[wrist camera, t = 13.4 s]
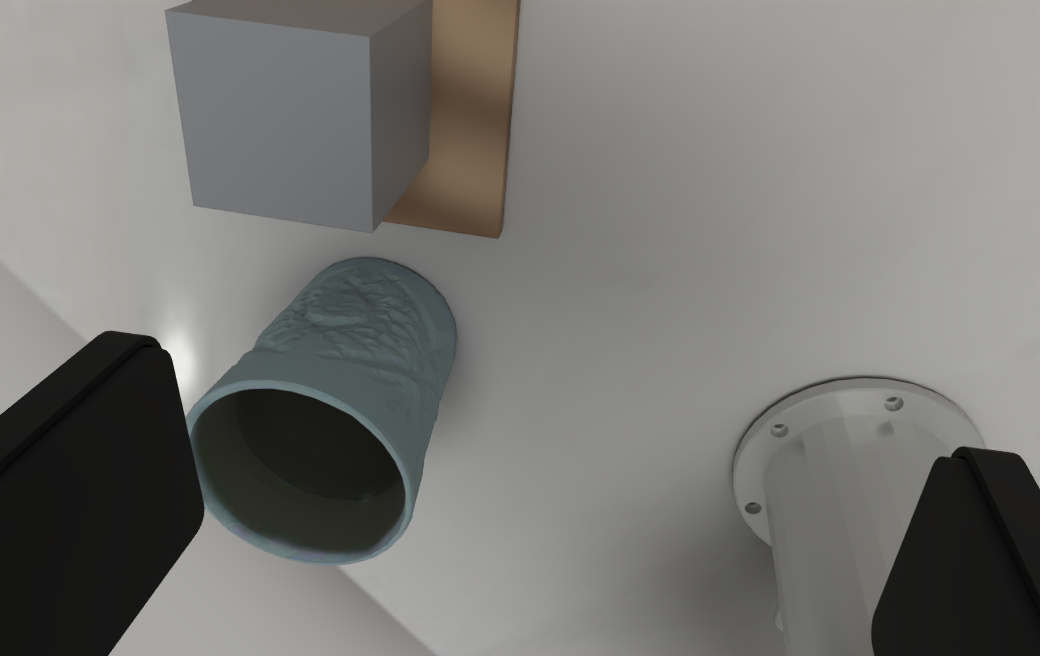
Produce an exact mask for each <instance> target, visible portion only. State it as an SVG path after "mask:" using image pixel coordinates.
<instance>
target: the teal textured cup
mask: <svg viewBox="0 0 1040 656" xmlns="http://www.w3.org/2000/svg"><path fill="white" fill-rule="evenodd" d="M455 346H456V325H455V322H454V320H453V317H452V314H451V312H450V309H449V307H448V306H447V304H446V303H445V298H444V297H443V296H442V295H441V294H440V293H438V292H436V291H435V288H434V286H432V285H431V284H429V283H428V282H427V280H426V279H424V278H422V277H421V276H419V275H418V274H416V273H414V272H412V271H411V270H409V269H407V268H405V267H403V266H400V265H398V264H396V263H395V262H388V261H387V260H383V259H379V258H368V257H364V258H354V259H350V260H346V261H342V262H339V263H337V264H335V265H332V266H330V267H328V268H327V269H325V270H324V271H323V272H321V273H320V274H318V275H317V276H316V277H315V278H314V279H313V280H312V281H311V282H310V283H309V284H308V285H307V286H306V287H305V288H304V290H303V291H302V292H301V293H300V294H299V295H298V296H297V297H296V298H295V299H294V300H293V301H292V303H291V304H290V305H289V306H288V308H287V309H286V310H284V311H283V312H282V313H281V314H280V315H279V316H277V317H276V319H275V320H274V321H273V322H272V324H271V325H269V326H268V327H267V328H266V329H265V330H264V331H263V332H262V333H261V334H260V336H259V337H258V339H257V342H256V344H255V346H254V348H253V350H252V351H250V352H247V353H245V354H244V355H243V356H242V357H241V359H240V360H239V362H238V363H237V364H236V365H234V366H232V367H231V368H230V369H229V370H228V371H227V372H226V373H225V374H224V375H223V376H222V377H221V379H220V380H219V381H218V382H217V383H216V384H215V385H214V386H213V387H212V388H211V389H210V390H209V391H208V392H207V393H206V394H205V395H204V396H203V397H202V398H201V399H200V400H199V401H198V402H197V403H196V404H195V405H194V406H193V407H192V409H191V410H190V412H189V413H188V415H187V417H186V419H185V420H186V424H187V429H188V433H189V437H190V442H191V446H192V451H193V455H194V460H195V464H196V469H197V473H198V478H199V482H200V487H201V491H202V496H203V500H204V507H205V509H206V510H207V511H208V512H209V513H211V514H212V515H213V516H214V517H215V518H216V519H217V520H218V521H219V522H220V523H221V524H222V525H223V526H224V527H226V528H227V529H228V530H230V531H231V532H232V533H234V534H235V535H237V536H238V537H240V538H241V539H243V540H244V541H246V542H248V543H249V544H251V545H253V546H255V547H257V548H259V549H261V550H263V551H265V552H268V553H271V554H274V555H276V556H279V557H282V558H285V559H289V560H293V561H297V562H301V563H307V564H314V565H335V566H336V565H345V564H352V563H356V562H360V561H364V560H367V559H370V558H374V557H375V556H377V555H379V554H381V553H382V552H384V551H386V550H387V549H389V548H390V547H391V546H392V545H393V544H394V543H395V542H396V541H397V540H398V539H399V538H400V537H401V536H402V534H403V533H404V531H405V530H406V529H407V527H408V525H409V523H410V521H411V519H412V515H413V510H414V506H415V502H416V498H417V494H418V490H419V486H420V482H421V479H422V474H423V466H424V458H425V454H426V450H427V447H428V444H429V441H430V437H431V434H432V430H433V426H434V423H435V422H436V420H437V413H438V407H439V402H440V400H441V397H442V394H443V390H444V387H445V384H446V381H447V379H448V376H449V373H450V369H451V366H452V362H453V359H454V355H455Z"/></svg>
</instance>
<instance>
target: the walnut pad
mask: <svg viewBox="0 0 1040 656" xmlns="http://www.w3.org/2000/svg"><path fill="white" fill-rule="evenodd" d="M192 1H194V0H192ZM520 1H521V0H433V11H432V52H431V93H430V135H429V159H428V161H427V162H426V163H425V165H424V166H423V167H422V169H421V170H420V171H419V173H418V174H417V175H416V177H415V178H414V179H413V181H412V182H411V183H410V185H409V186H408V187H407V189H406V190H405V191H404V193H403V194H402V195H401V197H400V198H399V199H398V200H397V202H396V203H395V204H394V206H393V207H392V208H391V210H390V211H389V212H388V214H387V215H386V216H385V218H384V219H383V220H382V221H384V222H391V223H398V224H404V225H411V226H417V227H424V228H430V229H437V230H444V231H450V232H457V233H463V234H470V235H476V236H483V237H489V238H496V239H498V238H499V236H500V233H501V231H502V223H503V211H504V199H505V186H506V174H507V161H508V149H509V137H510V124H511V112H512V100H513V87H514V75H515V63H516V50H517V38H518V25H519V13H520Z"/></svg>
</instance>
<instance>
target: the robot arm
mask: <svg viewBox="0 0 1040 656" xmlns="http://www.w3.org/2000/svg"><path fill="white" fill-rule="evenodd" d="M733 489H734V494H735V499H736V503H737V507H738V509H739V511H740V513H741V515H742V517H743V519H744V521H745V522H746V524H747V525H748V526H749V527H750V528H751V530H752V531H753V532H754V533H755V534H756V535H757V536H758V537H759V538H760V539H762V540H763V541H764V542H765V543H766V544H768V545H769V546H770V547H772V554H773V561H774V569H775V576H776V584H777V591H778V599H779V604H778V606H777V609H776V611H775V614H774V616H773V617H774V623H775V625H776V626H777V628H778V629H779V630H780V631H781V632H783V636H784V643H785V651H786V656H1040V489H1039V487H1038V485H1037V483H1036V481H1035V480H1034V478H1033V476H1032V474H1031V472H1030V471H1029V469H1028V467H1027V465H1026V464H1025V462H1024V461H1023V459H1022V458H1021V457H1020V456H1019V455H1017V454H1015V453H1010V452H1003V451H996V450H988V449H987V448H986V446H985V444H984V442H983V439H982V437H981V435H980V433H979V432H978V430H977V429H976V427H975V426H974V424H973V422H972V421H971V419H970V418H969V417H968V416H967V415H966V414H965V413H963V412H962V411H961V410H960V409H959V408H958V407H957V406H956V405H955V404H953V403H952V402H950V401H948V400H947V399H945V398H944V397H942V396H940V395H939V394H937V393H935V392H932V391H930V390H927V389H925V388H922V387H919V386H917V385H914V384H910V383H905V382H900V381H895V380H890V379H871V378H859V379H849V380H839V381H834V382H830V383H826V384H822V385H818V386H814V387H811V388H808V389H806V390H804V391H801V392H799V393H796V394H794V395H792V396H789V397H788V398H786V399H785V400H783V401H781V402H780V403H778V404H777V405H775V406H773V407H772V408H770V409H769V410H768V411H767V412H766V413H765V414H763V415H762V416H761V417H760V418H759V419H758V420H757V421H756V422H755V423H754V424H753V425H752V427H751V428H750V429H749V431H748V432H747V433H746V435H745V436H744V437H743V439H742V441H741V443H740V446H739V448H738V450H737V452H736V455H735V460H734V466H733ZM204 509H205V508H204V500H203V496H202V491H201V487H200V482H199V478H198V473H197V469H196V464H195V460H194V455H193V451H192V446H191V442H190V437H189V433H188V429H187V424H186V420H185V415H184V411H183V406H182V402H181V397H180V393H179V388H178V384H177V379H176V375H175V370H174V366H173V361H172V358H171V355H170V354H169V353H168V351H166V350H164V349H162V348H161V346H160V343H159V342H158V341H157V340H156V339H155V338H153V337H151V336H146V335H139V334H131V333H124V332H117V331H105V332H103V333H102V334H100V335H98V336H97V337H96V338H94V339H93V340H92V341H91V342H90V343H88V344H87V345H86V346H85V347H83V348H82V349H81V350H80V351H79V352H77V353H76V354H75V355H74V356H72V357H71V358H70V359H69V360H67V361H66V362H65V363H64V364H62V365H61V366H60V367H59V368H58V369H56V370H55V371H54V372H53V373H51V374H50V375H49V376H48V377H46V378H45V379H44V380H43V381H41V382H40V383H39V384H38V385H37V386H35V387H34V388H33V389H32V390H30V391H29V392H28V393H27V394H25V395H24V396H23V397H22V398H21V399H19V400H18V401H17V402H16V403H15V404H13V405H12V406H11V407H10V408H8V409H7V410H6V411H5V412H3V413H2V414H1V415H0V656H108V655H109V654H110V652H111V651H112V649H113V648H114V647H115V645H116V644H117V642H118V641H119V640H120V638H121V637H122V636H123V634H124V633H125V631H126V630H127V629H128V627H129V626H130V625H131V623H132V622H133V620H134V619H135V618H136V616H137V615H138V614H139V612H140V611H141V609H142V608H143V607H144V605H145V604H146V603H147V601H148V600H149V598H150V597H151V596H152V594H153V593H154V592H155V590H156V589H157V587H158V586H159V584H160V583H161V582H162V580H163V579H164V578H165V576H166V575H167V574H168V572H169V571H170V569H171V568H172V567H173V565H174V564H175V563H176V561H177V560H178V558H179V557H180V556H181V554H182V553H183V551H184V550H185V549H186V547H187V546H188V545H189V543H190V542H191V541H192V539H193V538H194V536H195V535H196V534H197V532H198V530H199V529H200V526H201V523H202V521H203V517H204Z"/></svg>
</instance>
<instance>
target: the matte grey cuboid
mask: <svg viewBox="0 0 1040 656" xmlns="http://www.w3.org/2000/svg"><path fill="white" fill-rule="evenodd" d="M432 11H433V0H194V1H191V2H188V3H185V4H182V5H179V6H177V7H174V8H171V9H168V10H165V15H166V22H167V29H168V36H169V42H170V49H171V56H172V63H173V70H174V76H175V83H176V90H177V97H178V103H179V110H180V117H181V124H182V131H183V137H184V144H185V151H186V158H187V164H188V171H189V178H190V185H191V192H192V198H193V205H194V206H198V207H204V208H211V209H217V210H224V211H230V212H237V213H243V214H250V215H256V216H263V217H269V218H276V219H283V220H289V221H296V222H302V223H309V224H315V225H322V226H328V227H335V228H341V229H348V230H354V231H361V232H367V233H373V232H374V231H375V230H376V228H377V227H378V226H379V224H380V223H381V222H382V220H383V219H384V218H385V216H386V215H387V214H388V212H389V211H390V210H391V208H392V207H393V206H394V204H395V203H396V202H397V200H398V199H399V198H400V197H401V195H402V194H403V193H404V191H405V190H406V189H407V187H408V186H409V185H410V183H411V182H412V181H413V179H414V178H415V177H416V175H417V174H418V173H419V171H420V170H421V169H422V167H423V166H424V165H425V163H426V162H427V161H428V159H429V135H430V93H431V52H432Z"/></svg>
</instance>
